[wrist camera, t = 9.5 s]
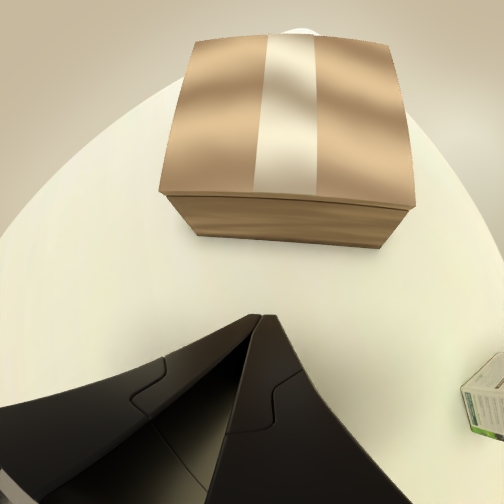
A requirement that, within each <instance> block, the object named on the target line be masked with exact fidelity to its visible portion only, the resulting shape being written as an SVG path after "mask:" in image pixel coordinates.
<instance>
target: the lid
mask: <svg viewBox="0 0 504 504" xmlns="http://www.w3.org/2000/svg"><path fill="white" fill-rule="evenodd" d="M159 192H160V193H162V194H164V195H193V196H239V197H264V198H283V199H300V200H314V201H327V202H339V203H350V204H360V205H370V206H379V207H388V208H396V209H405V210H411V209H412V208H414V207H416V201H415V185H414V172H413V162H412V154H411V146H410V139H409V132H408V126H407V120H406V115H405V109H404V104H403V100H402V95H401V90H400V86H399V82H398V78H397V74H396V70H395V67H394V63H393V60H392V56H391V53H390V50H389V46H388V45H384V44H378V43H373V42H367V41H360V40H354V39H346V38H338V37H327V36H314V35H312V34H268V35H254V36H240V37H229V38H220V39H213V40H205V41H199V42H196V43H195V45H194V48H193V51H192V54H191V58H190V61H189V64H188V67H187V71H186V74H185V77H184V80H183V84H182V87H181V91H180V95H179V98H178V102H177V106H176V110H175V114H174V118H173V122H172V126H171V130H170V135H169V139H168V144H167V148H166V153H165V158H164V163H163V168H162V174H161V179H160V185H159Z"/></svg>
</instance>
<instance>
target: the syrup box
mask: <svg viewBox="0 0 504 504" xmlns="http://www.w3.org/2000/svg"><path fill="white" fill-rule="evenodd" d="M461 392H462V394H463V397H464V400H465V405H466V409H467V412H468V416H469V420H470V424H471V428H472V431H473V432H475V433H478V434H481V435H484V436H487V437H490V438H493V439H497V440H500V441H504V353H497V354H496V355H495V356H494V357H493V358H492V359H491V360H490V361H489V362H488V363H487V364H486V365H485V366H484V367H483V368H482V369H481V370H480V371H479V372H477V373H476V374H475V375H474V376H473V377H472V378H471V379H470V380H469V381H468V382H467V383H466V384H464V385H463V386H462V387H461Z"/></svg>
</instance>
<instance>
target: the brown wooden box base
mask: <svg viewBox="0 0 504 504" xmlns="http://www.w3.org/2000/svg"><path fill="white" fill-rule="evenodd" d="M166 197H167V199H168V200H169V201H170V202H171V204H172V205H173V206H174V207H175V209H176V210H177V211H178V212H179V214H180V215H181V216H182V217H183V219H184V220H185V221H186V222H187V224H188V225H189V226H190V227H191V229H192V230H193V231H194V232H195V233H196V235H197V236H209V237H225V238H240V239H255V240H269V241H283V242H297V243H311V244H324V245H336V246H349V247H361V248H373V249H380V248H381V246H382V245H383V244H384V243H385V241H386V240H387V239H388V238H389V236H390V235H391V234H392V233H393V231H394V230H395V229H396V228H397V226H398V225H399V224H400V222H401V221H402V220H403V218H404V217H405V216H406V214H407V213H408V212H409V211H408V210H405V209H396V208H388V207H379V206H370V205H360V204H350V203H339V202H327V201H314V200H300V199H283V198H264V197H239V196H193V195H167V196H166Z"/></svg>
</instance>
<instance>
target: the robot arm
mask: <svg viewBox="0 0 504 504" xmlns="http://www.w3.org/2000/svg"><path fill="white" fill-rule="evenodd" d="M0 504H413V503H412V502H411V501H410V500H409V499H408V498H407V497H406V496H405V495H404V494H403V493H402V492H401V490H400V489H399V488H398V487H397V486H396V485H395V484H394V483H393V482H392V480H391V479H390V478H389V477H388V476H387V475H386V474H385V473H384V471H383V470H382V469H381V468H380V467H379V466H378V465H377V463H376V462H375V461H374V460H373V459H372V458H371V457H370V455H369V454H368V453H367V452H366V451H365V450H364V448H363V447H362V446H361V445H360V444H359V443H358V441H357V440H356V439H355V438H354V437H353V435H352V434H351V433H350V432H349V431H348V429H347V428H346V427H345V426H344V425H343V423H342V422H341V421H340V420H339V419H338V417H337V416H336V415H335V414H334V413H333V411H332V410H331V409H330V408H329V406H328V405H327V404H326V402H325V401H324V400H323V398H322V397H321V396H320V394H319V393H318V391H317V390H316V388H315V386H314V385H313V383H312V381H311V380H310V378H309V376H308V374H307V372H306V371H305V369H304V367H303V365H302V363H301V362H300V360H299V358H298V356H297V354H296V352H295V350H294V348H293V346H292V344H291V342H290V340H289V339H288V337H287V335H286V333H285V331H284V329H283V327H282V325H281V323H280V321H279V319H278V317H277V316H276V315H263V316H262V315H260V314H248V315H247V316H245V317H243V318H241V319H239V320H237V321H235V322H233V323H231V324H229V325H227V326H225V327H223V328H221V329H219V330H217V331H215V332H213V333H211V334H209V335H207V336H205V337H203V338H201V339H199V340H197V341H195V342H193V343H191V344H189V345H187V346H185V347H183V348H181V349H179V350H177V351H174V352H172V353H170V354H168V355H166V356H165V358H164V357H160V358H158V359H156V360H154V361H152V362H150V363H147V364H145V365H142V366H140V367H138V368H135V369H133V370H130V371H127V372H124V373H122V374H119V375H116V376H113V377H110V378H107V379H104V380H101V381H98V382H95V383H91V384H88V385H85V386H82V387H78V388H75V389H72V390H68V391H65V392H61V393H58V394H54V395H50V396H47V397H43V398H39V399H35V400H31V401H27V402H23V403H19V404H15V405H10V406H6V407H1V408H0Z"/></svg>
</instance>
